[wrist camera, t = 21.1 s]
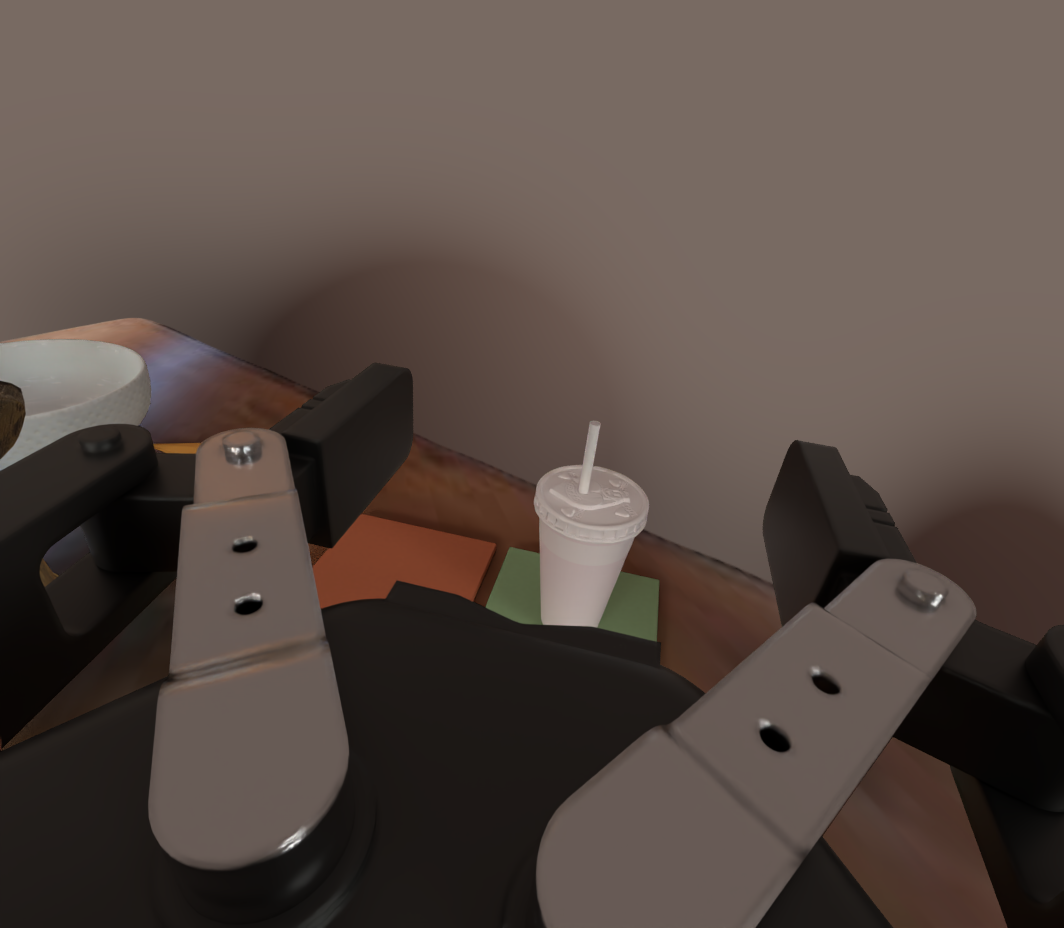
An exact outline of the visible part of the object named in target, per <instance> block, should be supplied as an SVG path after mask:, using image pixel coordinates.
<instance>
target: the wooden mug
mask: <svg viewBox="0 0 1064 928" xmlns="http://www.w3.org/2000/svg"><path fill="white" fill-rule="evenodd" d="M25 415H26V411H25V402H24V398H23V395H22V391H21V388H19V387H17V386H16V385H14V384H12V383H9V382H4V381H0V459H1V458H2V457H4V456H5V454H6V453H7V452H8V451H9V450H10V449H11V448H12V447H13V446H14V444H15V443H16V441H17V439H18V437H19V435H20V432H21V429H22V427H23V423H24V419H25ZM57 577H58V575H57V574H54V573H53V572H52V571H51V569H50V568H49V567H48V565H47V564H46V562H45V561H44V560H43V559H42V561H41V565H40V578H41V580H42V583H43V585H44V587H45V586H47V585H48V584H49V583H50V582H52V581H53V580H54V579H56V578H57Z"/></svg>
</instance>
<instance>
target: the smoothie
mask: <svg viewBox="0 0 1064 928" xmlns="http://www.w3.org/2000/svg"><path fill="white" fill-rule="evenodd" d="M599 430H600V423H599V422H598V421H591V422H590V424H589V431H588V436H587V442H586V448H585V454H584V459H583V465H569V466H564V467H560V468H557V469H554V470H552V471H550V472H548V473H546V474H545V475H544V476H543V477H542V478H541V479H540V480H539V482H538V484H537V487H536V494H535V498H534V506H535V511H536V513H537V514H538V516H539V534H540V593H541V620H542V623H543V625H565V626H592V627H598V625H599V622H600V620H601V617H602V615H603V613H604V610H605V608H606V605H607V603H608V600H609V598H610V596H611V593H612V591H613V588H614V586H615V583H616V581H617V579H618V576H619V574H620V571H621V569H622V566H623V564H624V562H625V559H626V557H627V554H628V552H629V550H630V548H631V545H632V542H633V540H634V537H635V536H637V535H638V534H639V533H640V532H641V531H642V530H643V529H644V527H645V525H646V522H647V514H648V510H649V501H648V498H647V496H646V494H645V492H644V491H643V490H642V488H641V487H640V486H639V485H638V484H636V483H635V482H634V481H632V480H631V479H629V478H628V477H626V476H624V475H622V474H620V473H618V472H615V471H613V470H609V469H606V468H602V467H598V466H593V462H594V457H595V452H596V446H597V440H598V435H599Z"/></svg>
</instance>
